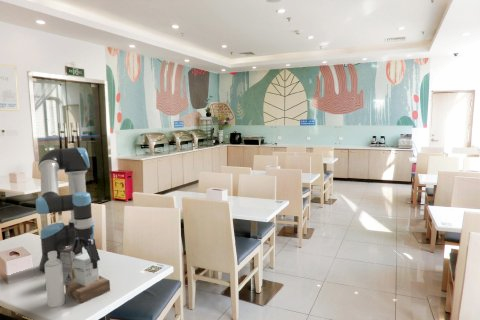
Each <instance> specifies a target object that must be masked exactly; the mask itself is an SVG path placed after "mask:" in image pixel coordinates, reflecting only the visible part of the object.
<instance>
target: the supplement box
mask: <svg viewBox="0 0 480 320" xmlns="http://www.w3.org/2000/svg"><path fill="white" fill-rule="evenodd" d="M74 262H75V277H76V283H78V284H81V285H83V286H88V285H90V284H92V283H94V282H96V281H98V280H99V276H100V274H99V273H98V274H97V275H94V276H91V265H90V262H91V259H90V257H89V255H88V253H87V252H84V253H83V254H81V255H79V256H76V257H74ZM97 270H98V271H99V263H98V261H97Z"/></svg>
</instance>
